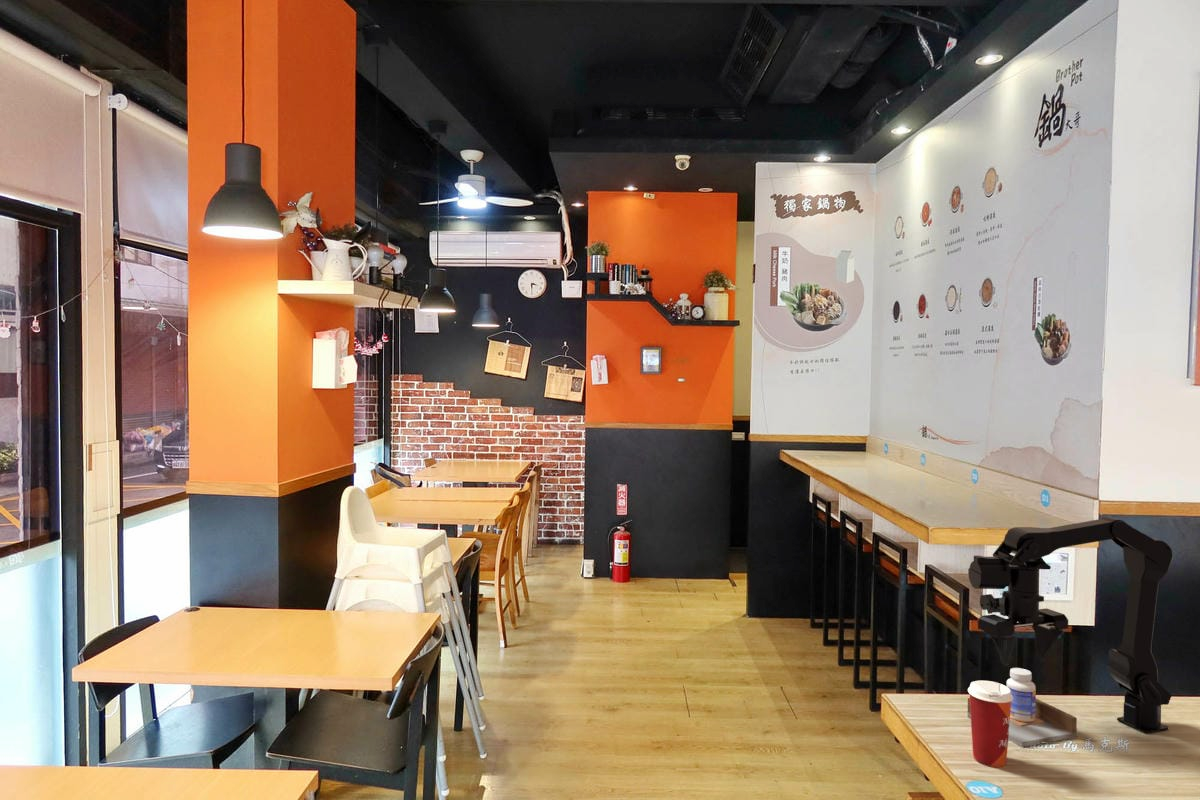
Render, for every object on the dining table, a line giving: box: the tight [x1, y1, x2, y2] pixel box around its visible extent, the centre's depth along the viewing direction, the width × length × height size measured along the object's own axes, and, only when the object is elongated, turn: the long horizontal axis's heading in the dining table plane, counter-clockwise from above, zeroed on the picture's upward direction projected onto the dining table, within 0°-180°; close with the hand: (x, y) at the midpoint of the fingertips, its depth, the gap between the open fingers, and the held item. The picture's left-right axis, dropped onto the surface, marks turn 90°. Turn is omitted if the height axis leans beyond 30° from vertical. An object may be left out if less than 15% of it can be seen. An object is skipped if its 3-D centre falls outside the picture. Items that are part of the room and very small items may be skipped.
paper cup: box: [967, 679, 1013, 768], centre depth 141 cm, size 8×8×14 cm
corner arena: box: [967, 697, 1078, 748], centre depth 155 cm, size 14×14×4 cm
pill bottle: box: [1006, 667, 1037, 722], centre depth 157 cm, size 5×5×10 cm
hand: (1022, 662), depth 156 cm, fingers open, 9 cm apart
